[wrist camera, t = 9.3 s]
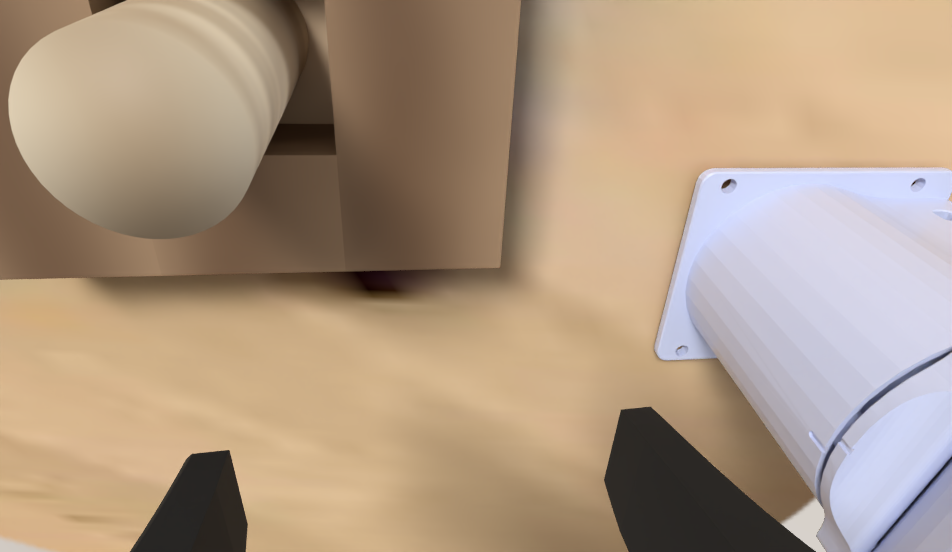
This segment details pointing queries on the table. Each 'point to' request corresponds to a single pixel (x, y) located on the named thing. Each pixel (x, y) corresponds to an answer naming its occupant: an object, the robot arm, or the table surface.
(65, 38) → the dowel
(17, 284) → the table surface
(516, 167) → the table surface
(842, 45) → the table surface
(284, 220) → the socket block
